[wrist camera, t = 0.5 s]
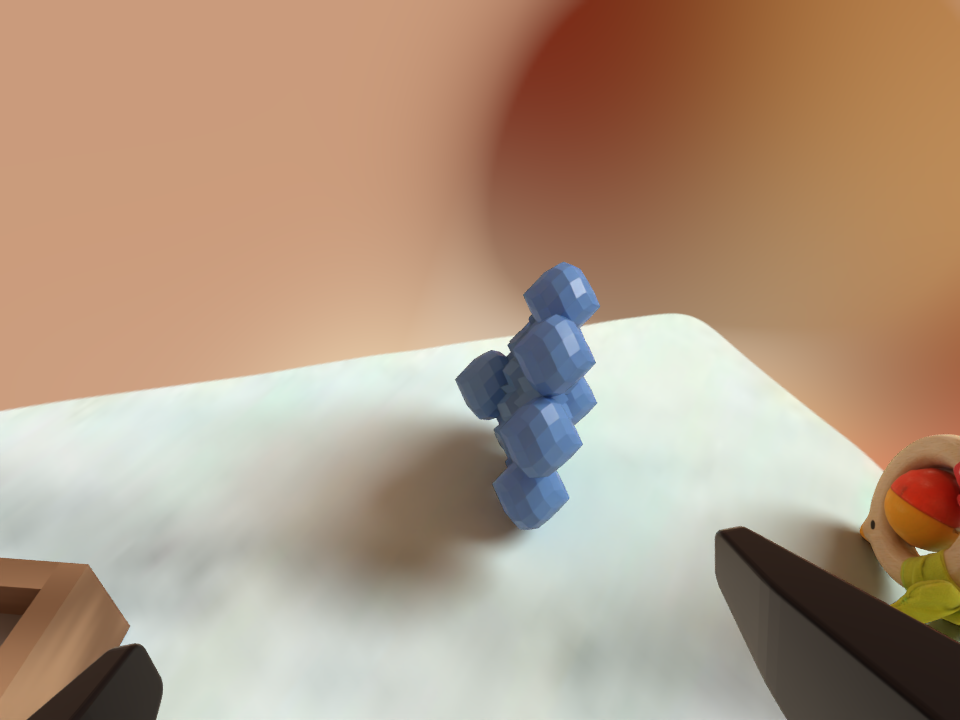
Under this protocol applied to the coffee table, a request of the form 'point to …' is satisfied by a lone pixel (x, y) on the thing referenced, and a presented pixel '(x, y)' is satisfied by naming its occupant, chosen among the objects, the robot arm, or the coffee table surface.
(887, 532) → the bird rattle
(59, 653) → the socket box
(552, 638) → the coffee table surface
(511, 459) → the grapes
